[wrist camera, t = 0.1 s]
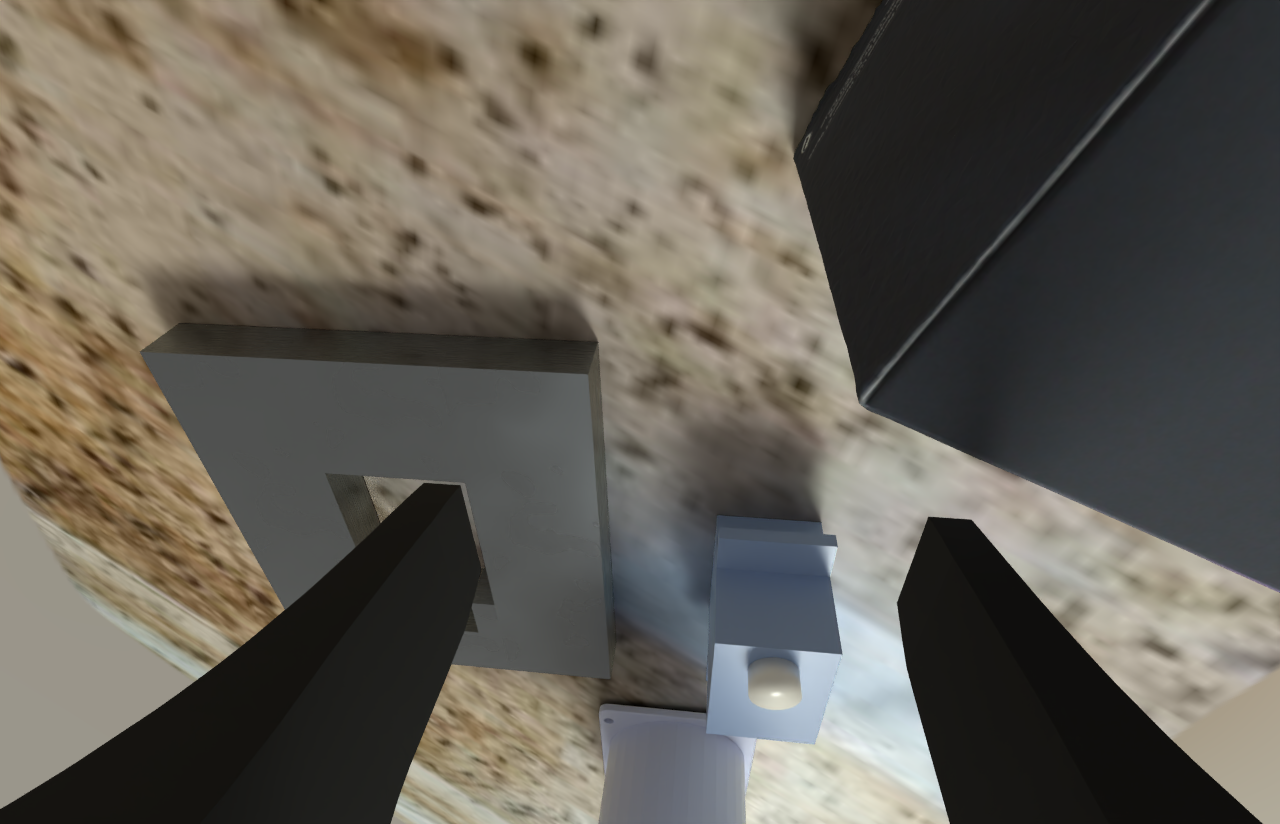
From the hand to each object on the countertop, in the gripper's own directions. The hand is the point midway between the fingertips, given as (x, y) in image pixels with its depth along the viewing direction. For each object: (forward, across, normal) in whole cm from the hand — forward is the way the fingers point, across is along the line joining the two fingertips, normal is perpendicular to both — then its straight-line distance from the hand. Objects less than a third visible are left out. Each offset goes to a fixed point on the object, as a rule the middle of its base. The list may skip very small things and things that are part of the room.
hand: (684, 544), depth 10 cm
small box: (+10, -8, -4) cm, 13 cm away
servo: (+10, -3, +12) cm, 16 cm away
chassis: (+10, +10, +10) cm, 18 cm away
